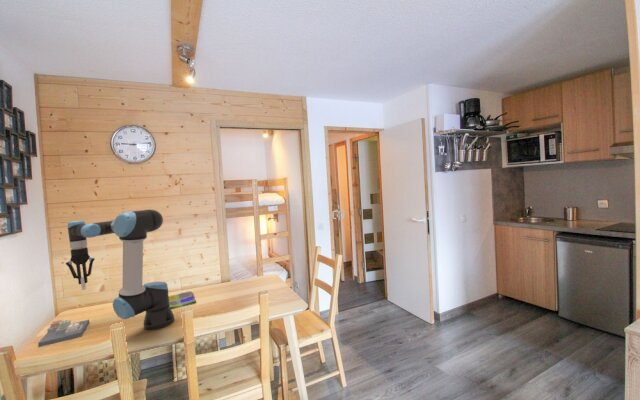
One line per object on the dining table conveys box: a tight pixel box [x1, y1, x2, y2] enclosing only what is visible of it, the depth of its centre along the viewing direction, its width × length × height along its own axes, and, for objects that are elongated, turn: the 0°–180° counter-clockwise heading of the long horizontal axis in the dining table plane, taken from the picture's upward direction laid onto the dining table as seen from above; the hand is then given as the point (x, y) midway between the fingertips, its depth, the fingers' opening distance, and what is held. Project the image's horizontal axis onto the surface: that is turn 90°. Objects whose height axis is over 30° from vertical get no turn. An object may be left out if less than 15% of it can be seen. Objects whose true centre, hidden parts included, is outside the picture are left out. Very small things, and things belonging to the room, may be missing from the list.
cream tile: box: [68, 322, 80, 331], centre depth 158 cm, size 4×4×3 cm
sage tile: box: [59, 319, 72, 330], centre depth 161 cm, size 4×4×3 cm
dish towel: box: [168, 291, 197, 310], centre depth 198 cm, size 18×24×3 cm
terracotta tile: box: [50, 319, 63, 328], centre depth 164 cm, size 4×4×3 cm
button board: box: [37, 319, 90, 348], centre depth 161 cm, size 20×17×4 cm
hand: (83, 289), depth 168 cm, fingers closed
